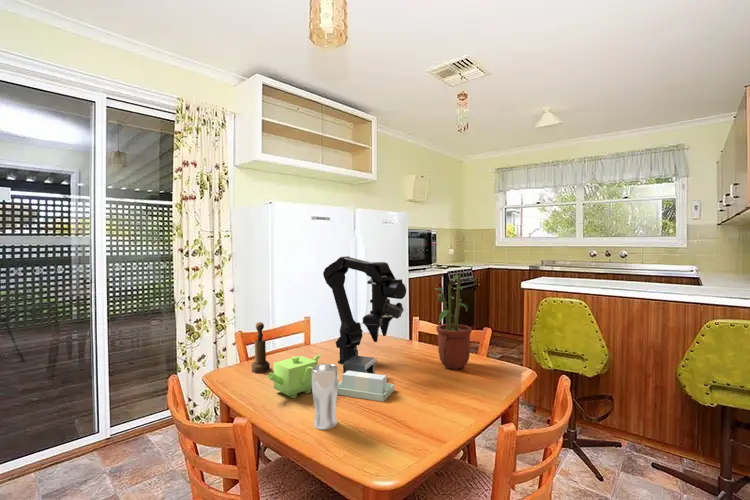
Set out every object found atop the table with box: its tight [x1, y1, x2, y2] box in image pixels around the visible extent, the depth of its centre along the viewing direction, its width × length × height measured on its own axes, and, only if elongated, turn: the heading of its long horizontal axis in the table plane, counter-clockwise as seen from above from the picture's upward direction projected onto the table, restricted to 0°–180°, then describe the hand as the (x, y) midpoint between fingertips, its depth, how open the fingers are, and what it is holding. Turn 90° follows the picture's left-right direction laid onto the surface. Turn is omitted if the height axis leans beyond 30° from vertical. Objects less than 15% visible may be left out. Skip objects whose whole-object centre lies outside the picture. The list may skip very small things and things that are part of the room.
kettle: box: [267, 353, 323, 399], centre depth 122 cm, size 15×14×11 cm
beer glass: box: [311, 363, 339, 431], centre depth 100 cm, size 7×7×15 cm
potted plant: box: [434, 274, 473, 370], centre depth 145 cm, size 17×16×35 cm
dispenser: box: [342, 355, 377, 375], centre depth 132 cm, size 9×9×7 cm
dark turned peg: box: [251, 321, 271, 374], centre depth 143 cm, size 7×6×18 cm
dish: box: [337, 380, 395, 403], centre depth 121 cm, size 17×9×2 cm, turn 68°
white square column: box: [341, 371, 388, 394], centre depth 121 cm, size 14×4×5 cm, turn 68°
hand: (380, 338), depth 140 cm, fingers open, 9 cm apart
